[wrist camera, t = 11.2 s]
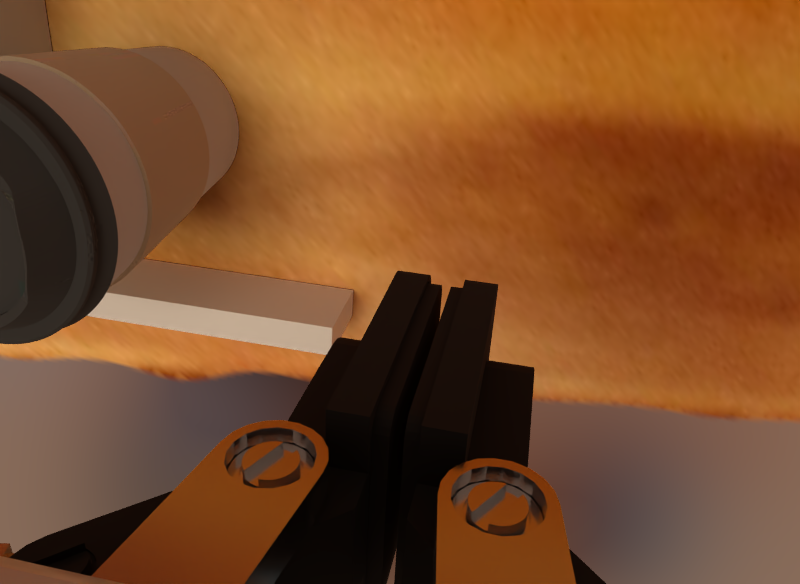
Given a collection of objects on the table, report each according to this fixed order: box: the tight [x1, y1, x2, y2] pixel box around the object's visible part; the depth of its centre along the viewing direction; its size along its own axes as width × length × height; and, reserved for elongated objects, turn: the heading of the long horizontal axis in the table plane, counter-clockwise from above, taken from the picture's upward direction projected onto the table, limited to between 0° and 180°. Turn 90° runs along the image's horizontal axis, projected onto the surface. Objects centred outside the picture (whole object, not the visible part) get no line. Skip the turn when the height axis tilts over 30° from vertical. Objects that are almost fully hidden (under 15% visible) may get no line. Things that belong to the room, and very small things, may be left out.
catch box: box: [0, 0, 353, 355], centre depth 28 cm, size 16×18×10 cm
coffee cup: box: [0, 46, 239, 344], centre depth 26 cm, size 9×9×15 cm
